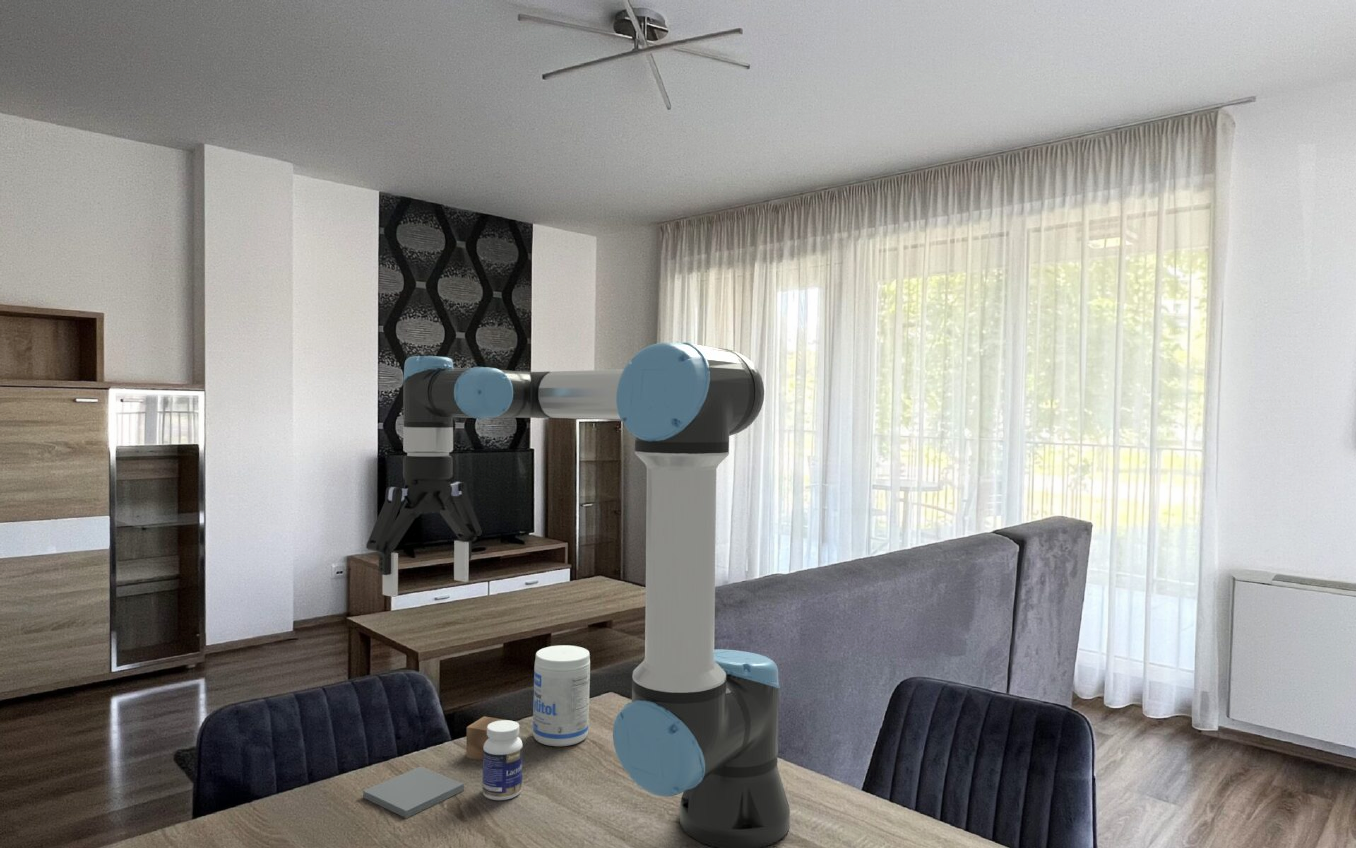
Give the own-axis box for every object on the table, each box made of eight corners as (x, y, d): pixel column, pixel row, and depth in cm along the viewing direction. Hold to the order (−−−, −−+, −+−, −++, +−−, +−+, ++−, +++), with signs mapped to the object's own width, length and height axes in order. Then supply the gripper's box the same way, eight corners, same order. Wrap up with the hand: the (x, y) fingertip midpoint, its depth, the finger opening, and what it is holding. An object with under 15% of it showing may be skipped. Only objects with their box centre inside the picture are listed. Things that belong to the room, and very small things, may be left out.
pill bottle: (512, 804, 115) (513, 734, 115) (475, 799, 116) (476, 731, 116) (528, 785, 121) (528, 719, 121) (492, 782, 122) (493, 716, 122)
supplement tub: (521, 741, 137) (522, 655, 137) (554, 722, 145) (555, 641, 145) (568, 753, 133) (569, 664, 132) (599, 733, 141) (600, 649, 141)
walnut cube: (509, 750, 133) (509, 720, 133) (492, 762, 129) (493, 731, 129) (483, 746, 135) (484, 716, 135) (466, 757, 130) (466, 727, 130)
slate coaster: (463, 790, 119) (463, 784, 119) (406, 818, 111) (406, 811, 111) (420, 772, 125) (420, 766, 125) (363, 797, 116) (363, 790, 116)
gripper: (473, 450, 140) (472, 572, 140) (342, 456, 119) (341, 598, 120) (503, 452, 135) (502, 578, 136) (372, 458, 115) (371, 606, 115)
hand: (427, 588), depth 128 cm, fingers open, 13 cm apart
